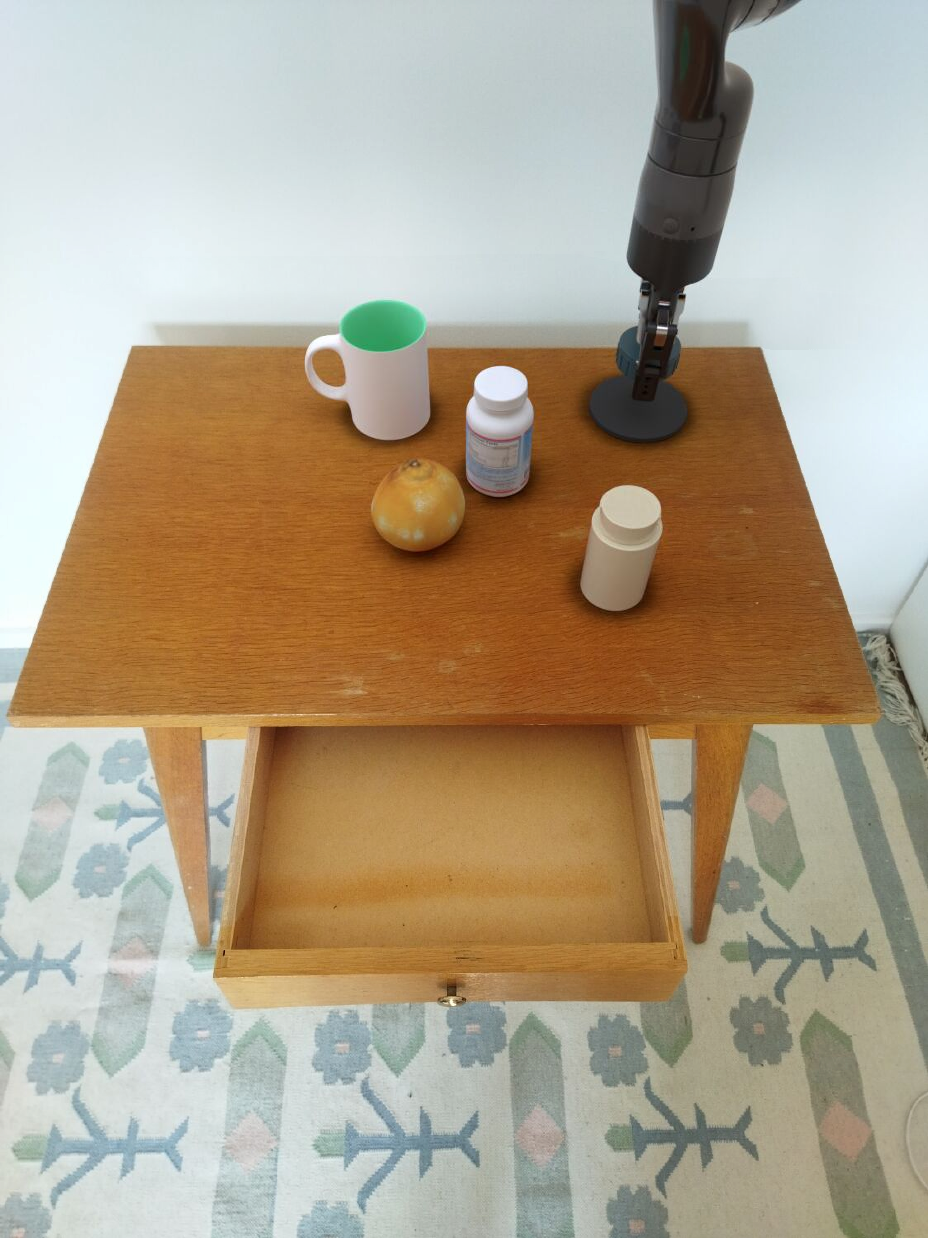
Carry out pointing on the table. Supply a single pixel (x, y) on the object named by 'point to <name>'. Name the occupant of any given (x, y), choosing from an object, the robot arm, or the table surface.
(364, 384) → the mug
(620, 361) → the lid
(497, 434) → the pill bottle
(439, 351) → the table surface
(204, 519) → the table surface
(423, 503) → the fruit
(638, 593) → the jar
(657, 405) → the coaster
